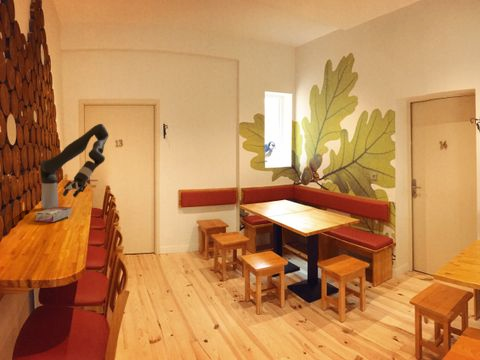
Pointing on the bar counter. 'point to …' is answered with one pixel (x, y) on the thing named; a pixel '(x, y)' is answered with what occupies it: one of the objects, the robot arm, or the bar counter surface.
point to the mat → (54, 221)
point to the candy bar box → (53, 214)
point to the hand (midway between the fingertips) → (68, 195)
